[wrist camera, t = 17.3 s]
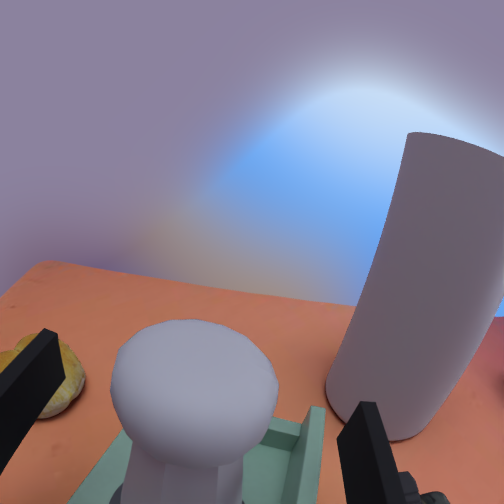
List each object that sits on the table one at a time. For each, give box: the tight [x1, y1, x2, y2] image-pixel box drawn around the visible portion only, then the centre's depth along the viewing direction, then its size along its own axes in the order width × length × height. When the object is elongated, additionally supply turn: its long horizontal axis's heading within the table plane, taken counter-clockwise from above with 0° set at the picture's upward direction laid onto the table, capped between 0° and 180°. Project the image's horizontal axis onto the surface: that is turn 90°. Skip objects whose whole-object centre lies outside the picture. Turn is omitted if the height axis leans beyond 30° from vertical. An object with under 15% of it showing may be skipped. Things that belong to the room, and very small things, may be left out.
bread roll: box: [0, 333, 85, 418], centre depth 19 cm, size 8×9×4 cm
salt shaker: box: [110, 319, 279, 504], centre depth 9 cm, size 6×6×13 cm
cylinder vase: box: [326, 132, 504, 441], centre depth 24 cm, size 12×12×25 cm
